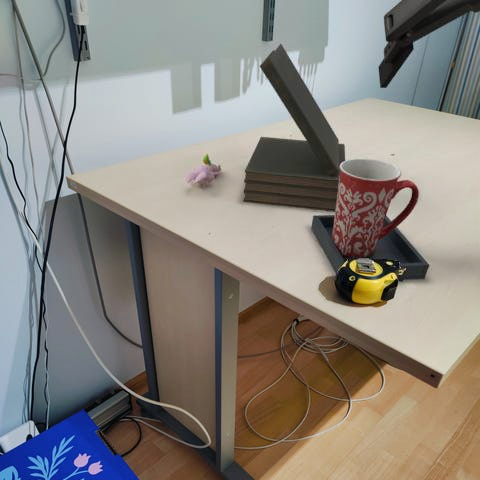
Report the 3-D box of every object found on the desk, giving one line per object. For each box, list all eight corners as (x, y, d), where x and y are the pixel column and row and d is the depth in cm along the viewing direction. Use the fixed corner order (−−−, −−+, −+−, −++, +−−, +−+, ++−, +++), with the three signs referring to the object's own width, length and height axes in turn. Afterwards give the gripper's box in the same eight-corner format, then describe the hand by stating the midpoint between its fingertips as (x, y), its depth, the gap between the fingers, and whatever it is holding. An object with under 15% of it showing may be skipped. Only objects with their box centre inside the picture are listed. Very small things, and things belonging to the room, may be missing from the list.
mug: (326, 259, 68) (342, 177, 60) (324, 232, 75) (337, 155, 67) (405, 266, 67) (433, 184, 59) (396, 238, 74) (419, 161, 66)
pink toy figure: (202, 175, 99) (176, 189, 86) (202, 148, 96) (177, 158, 83) (227, 179, 98) (205, 193, 85) (229, 152, 95) (206, 162, 82)
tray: (381, 226, 79) (384, 213, 78) (424, 279, 66) (429, 264, 64) (311, 228, 78) (313, 215, 76) (340, 283, 64) (343, 268, 62)
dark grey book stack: (340, 212, 83) (369, 66, 67) (242, 201, 86) (248, 58, 70) (340, 171, 101) (363, 47, 85) (259, 163, 103) (266, 41, 87)
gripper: (444, -74, 30) (339, 106, 51) (748, -56, 32) (530, 107, 53) (433, -170, 30) (334, 47, 51) (732, -144, 33) (522, 52, 54)
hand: (434, 78), depth 52 cm, fingers open, 13 cm apart
